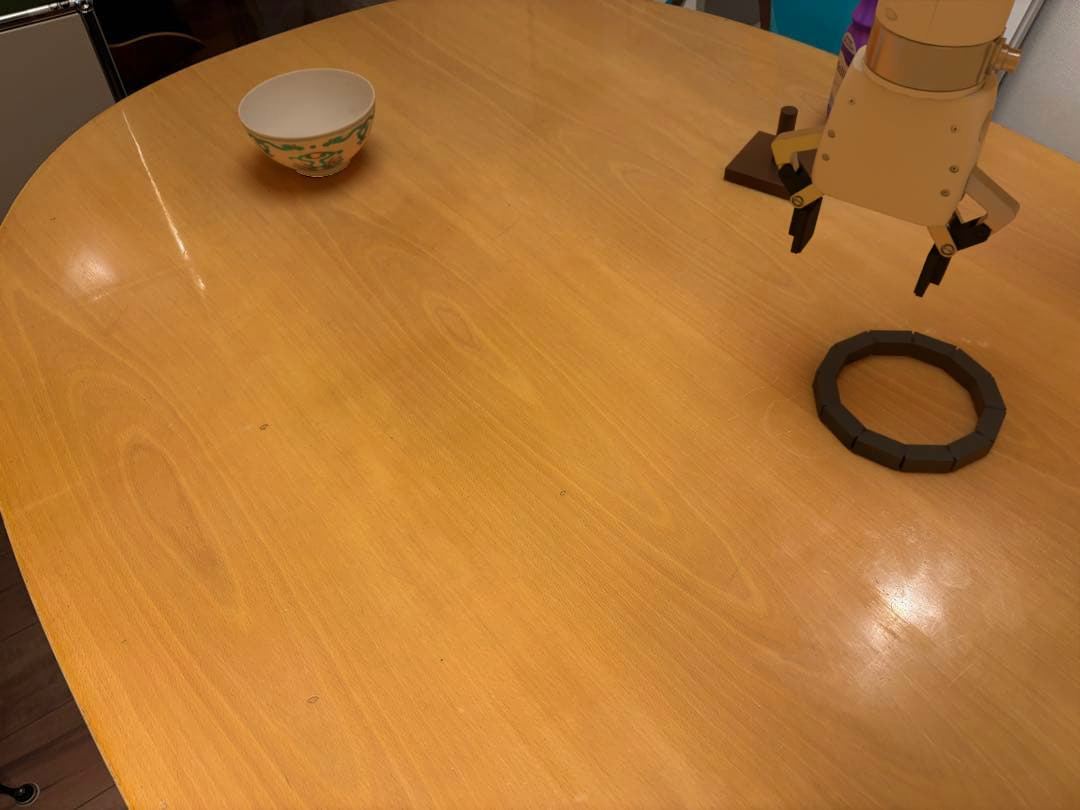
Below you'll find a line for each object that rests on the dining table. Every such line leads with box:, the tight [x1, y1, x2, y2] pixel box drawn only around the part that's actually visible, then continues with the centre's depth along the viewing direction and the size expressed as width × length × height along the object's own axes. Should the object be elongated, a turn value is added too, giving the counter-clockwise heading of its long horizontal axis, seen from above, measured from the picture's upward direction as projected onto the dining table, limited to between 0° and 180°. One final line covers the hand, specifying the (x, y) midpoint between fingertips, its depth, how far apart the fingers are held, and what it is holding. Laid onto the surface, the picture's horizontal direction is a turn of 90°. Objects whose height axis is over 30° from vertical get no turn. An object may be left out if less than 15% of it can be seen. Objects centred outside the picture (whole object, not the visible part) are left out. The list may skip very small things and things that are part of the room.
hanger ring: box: [811, 329, 1008, 474], centre depth 73 cm, size 15×15×2 cm
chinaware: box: [237, 67, 376, 177], centre depth 99 cm, size 15×15×8 cm
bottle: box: [826, 0, 878, 119], centre depth 97 cm, size 7×6×17 cm
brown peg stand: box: [723, 105, 818, 201], centre depth 95 cm, size 9×9×8 cm
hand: (860, 264), depth 67 cm, fingers open, 9 cm apart
